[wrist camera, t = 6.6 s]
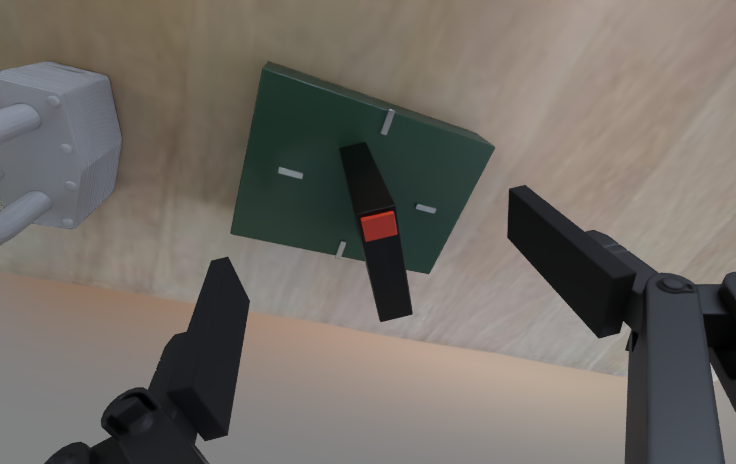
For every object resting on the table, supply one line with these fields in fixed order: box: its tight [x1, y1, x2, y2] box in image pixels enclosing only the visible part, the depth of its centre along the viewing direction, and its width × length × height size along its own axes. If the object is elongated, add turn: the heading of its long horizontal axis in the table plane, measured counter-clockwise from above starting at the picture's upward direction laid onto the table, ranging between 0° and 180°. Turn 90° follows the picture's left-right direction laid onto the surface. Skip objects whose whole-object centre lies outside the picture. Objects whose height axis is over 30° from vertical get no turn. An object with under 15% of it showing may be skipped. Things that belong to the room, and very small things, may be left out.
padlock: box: [0, 61, 122, 245], centre depth 17 cm, size 7×4×10 cm, turn 163°
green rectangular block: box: [230, 61, 495, 274], centre depth 24 cm, size 14×10×3 cm
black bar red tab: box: [339, 142, 413, 322], centre depth 19 cm, size 6×2×8 cm, turn 10°
